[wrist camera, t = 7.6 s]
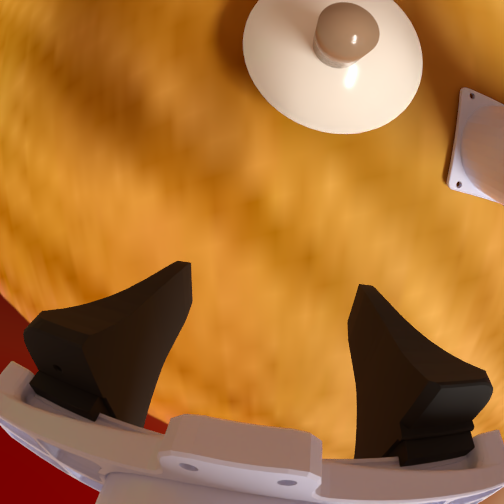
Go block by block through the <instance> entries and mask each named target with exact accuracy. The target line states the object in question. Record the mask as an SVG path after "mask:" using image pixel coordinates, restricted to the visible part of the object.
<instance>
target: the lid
mask: <svg viewBox="0 0 504 504" xmlns="http://www.w3.org/2000/svg"><path fill="white" fill-rule="evenodd" d="M243 53H244V58H245V63H246V66H247V69H248V72H249V74H250V76H251V78H252V80H253V82H254V84H255V86H256V87H257V89H258V90H259V91H260V93H261V94H262V95H263V96H264V98H265V99H266V100H267V101H268V102H269V103H270V104H271V105H272V106H273V107H274V108H276V109H277V110H278V111H279V112H281V113H282V114H284V115H285V116H286V117H288V118H290V119H291V120H293V121H295V122H297V123H299V124H301V125H304V126H306V127H309V128H311V129H315V130H318V131H322V132H328V133H335V134H353V133H361V132H366V131H370V130H373V129H376V128H379V127H381V126H383V125H385V124H387V123H389V122H390V121H392V120H393V119H395V118H396V117H397V116H398V115H400V114H401V113H402V112H403V111H404V110H405V109H406V108H407V106H408V105H409V104H410V103H411V101H412V99H413V98H414V96H415V94H416V92H417V90H418V87H419V84H420V81H421V76H422V67H423V60H422V51H421V46H420V42H419V39H418V36H417V33H416V31H415V29H414V27H413V25H412V23H411V22H410V20H409V19H408V17H407V16H406V14H405V13H404V12H403V10H402V9H401V8H400V7H399V6H398V5H397V4H396V3H395V2H394V1H393V0H259V1H258V2H257V3H256V5H255V6H254V8H253V9H252V11H251V12H250V15H249V17H248V19H247V22H246V25H245V29H244V35H243Z"/></svg>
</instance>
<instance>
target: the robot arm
mask: <svg viewBox="0 0 504 504" xmlns="http://www.w3.org/2000/svg"><path fill="white" fill-rule="evenodd" d="M470 93H471V94H472V96H473V98H472V99H471V98H470ZM458 181H459V186H458V187H457V186H456V184H457V182H458ZM447 186H448V187H449V188H450V189H452V190H456V191H460V192H464V193H467V194H471V195H474V196H478V197H481V198H485V199H488V200H491V201H494V202H498V203H500V204H502V205H503V206H504V104H502V103H500V102H498V101H496V100H494V99H492V98H489V97H487V96H485V95H483V94H481V93H478V92H476V91H474V90H472V89H469V88H466V87H464V88H461V90H460V97H459V108H458V117H457V125H456V132H455V139H454V145H453V151H452V157H451V162H450V168H449V173H448V178H447ZM191 304H192V280H191V263H189V262H182V261H176V262H174V263H172V264H171V265H169V266H167V267H165V268H164V269H162V270H160V271H159V272H157V273H155V274H154V275H152V276H150V277H148V278H147V279H145V280H143V281H141V282H139V283H137V284H135V285H134V286H132V287H130V288H128V289H126V290H123V291H121V292H119V293H116V294H114V295H112V296H109V297H106V298H103V299H100V300H97V301H94V302H91V303H87V304H83V305H79V306H74V307H69V308H64V309H56V310H48V311H42V312H41V313H40V314H39V315H38V316H37V317H36V318H35V319H34V320H33V321H32V322H31V323H30V324H29V325H28V327H27V328H26V329H25V330H24V334H23V335H24V341H25V344H26V347H27V349H28V351H29V352H30V355H31V357H32V359H33V360H34V362H35V364H36V366H37V368H38V370H39V371H38V372H37V373H36V375H34V374H33V373H32V372H30V371H29V370H28V369H26V368H24V367H23V366H21V365H19V364H17V363H15V362H13V361H11V363H10V364H9V365H8V366H7V367H6V369H5V370H4V371H3V372H2V374H1V375H0V425H1V426H2V427H3V429H5V431H6V432H7V433H8V434H9V435H10V436H11V437H12V438H14V439H15V440H17V441H18V442H19V443H21V444H22V445H24V446H25V447H27V448H28V449H29V450H31V451H32V452H34V453H35V454H37V455H38V456H40V457H41V458H43V459H44V460H46V461H47V462H49V463H50V464H52V465H54V466H55V467H57V468H59V469H60V470H62V471H63V472H65V473H67V474H68V475H70V476H72V477H74V478H75V479H77V480H79V481H81V482H82V483H84V484H86V485H88V486H90V487H92V488H94V489H96V490H98V491H100V494H99V496H98V499H97V501H96V504H478V503H479V502H481V501H483V500H484V499H486V498H487V497H489V496H490V495H492V494H493V493H495V492H497V491H498V490H500V489H501V488H503V487H504V444H503V441H502V437H501V434H500V432H499V430H494V431H490V432H486V433H482V434H479V435H477V436H475V437H473V438H472V435H471V432H470V431H472V430H473V429H474V424H473V421H472V420H473V419H474V418H475V417H476V416H477V415H478V413H479V412H480V411H481V410H482V409H483V408H484V407H485V405H486V404H487V403H488V401H489V400H490V398H491V395H492V393H493V387H492V385H491V382H490V380H489V378H488V376H487V374H486V371H485V370H482V369H480V368H478V367H475V366H473V365H471V364H468V363H466V362H464V361H462V360H460V359H458V358H456V357H455V356H453V355H451V354H449V353H448V352H446V351H444V350H443V349H441V348H440V347H438V346H437V345H435V344H434V343H433V342H431V341H430V340H428V339H427V338H426V337H425V336H423V335H422V334H421V333H420V332H418V331H417V330H416V329H415V328H414V327H413V326H412V325H411V324H409V323H408V322H407V321H406V320H405V319H404V318H403V317H402V316H401V315H400V314H399V313H398V312H397V311H396V310H395V309H394V308H393V307H392V305H391V304H390V303H389V302H388V301H387V300H386V299H385V298H384V297H383V296H382V295H381V294H380V293H379V292H378V291H377V290H376V289H375V288H374V287H373V286H371V285H362V284H359V286H358V289H357V293H356V296H355V300H354V303H353V306H352V309H351V313H350V316H349V319H348V341H349V347H350V353H351V359H352V364H353V370H354V376H355V382H356V392H357V429H356V445H355V455H354V459H322V441H321V440H320V439H318V438H317V437H315V436H314V435H312V434H311V433H309V432H305V431H301V430H296V429H291V428H281V427H272V426H264V425H256V424H249V423H243V422H236V421H230V420H225V419H219V418H214V417H209V416H204V415H194V414H184V415H180V416H177V417H174V418H171V420H170V422H169V425H168V428H167V430H166V433H165V435H164V434H160V433H157V432H154V431H150V430H147V429H144V424H145V419H146V415H147V412H148V409H149V405H150V402H151V398H152V395H153V392H154V389H155V386H156V383H157V380H158V377H159V375H160V372H161V369H162V366H163V364H164V362H165V359H166V357H167V355H168V353H169V351H170V350H171V348H172V346H173V344H174V342H175V340H176V338H177V336H178V334H179V332H180V330H181V329H182V327H183V325H184V323H185V321H186V318H187V316H188V313H189V310H190V307H191Z"/></svg>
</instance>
